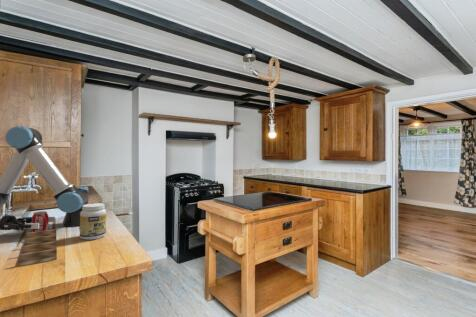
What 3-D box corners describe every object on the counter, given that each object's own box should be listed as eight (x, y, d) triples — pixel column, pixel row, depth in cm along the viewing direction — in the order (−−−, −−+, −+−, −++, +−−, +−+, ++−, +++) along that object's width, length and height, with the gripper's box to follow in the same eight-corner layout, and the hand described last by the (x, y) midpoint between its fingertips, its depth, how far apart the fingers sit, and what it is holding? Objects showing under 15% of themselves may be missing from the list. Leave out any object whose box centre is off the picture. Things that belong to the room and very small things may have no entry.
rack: (56, 237, 136) (56, 229, 136) (56, 259, 108) (56, 249, 108) (26, 241, 129) (26, 232, 129) (19, 266, 101) (19, 255, 101)
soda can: (51, 233, 141) (51, 211, 141) (37, 237, 134) (37, 214, 134) (42, 232, 143) (42, 210, 143) (28, 236, 137) (28, 213, 137)
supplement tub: (87, 242, 129) (87, 208, 129) (75, 237, 136) (75, 205, 135) (110, 235, 139) (111, 204, 139) (98, 231, 146) (98, 201, 146)
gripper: (21, 223, 149) (60, 223, 151) (-17, 237, 125) (30, 236, 127) (21, 210, 149) (60, 210, 151) (-17, 221, 125) (30, 221, 127)
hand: (47, 222), depth 139 cm, fingers open, 12 cm apart
